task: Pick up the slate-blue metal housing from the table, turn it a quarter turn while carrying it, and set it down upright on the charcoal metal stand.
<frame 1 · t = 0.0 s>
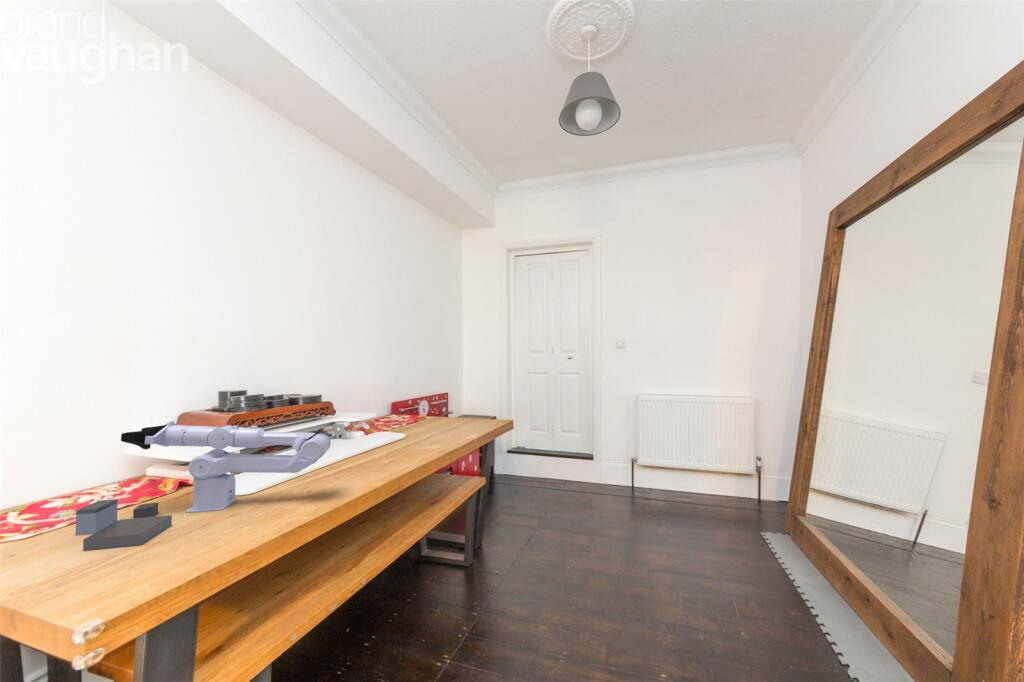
hand: (132, 434, 110), 22 cm above the table, fingers open, 7 cm apart
stand: (130, 537, 94), on the table
housing: (97, 528, 100), on the table
rubber block: (145, 517, 107), on the table
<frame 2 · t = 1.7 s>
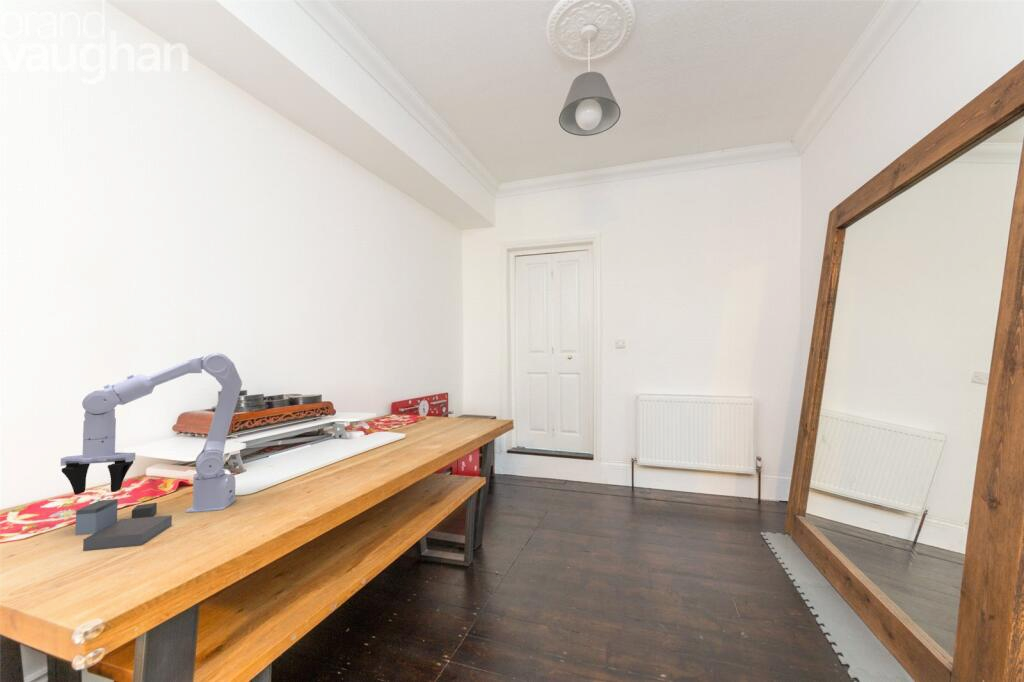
hand: (97, 492, 100), 9 cm above the table, fingers open, 7 cm apart
nothing on the table moved.
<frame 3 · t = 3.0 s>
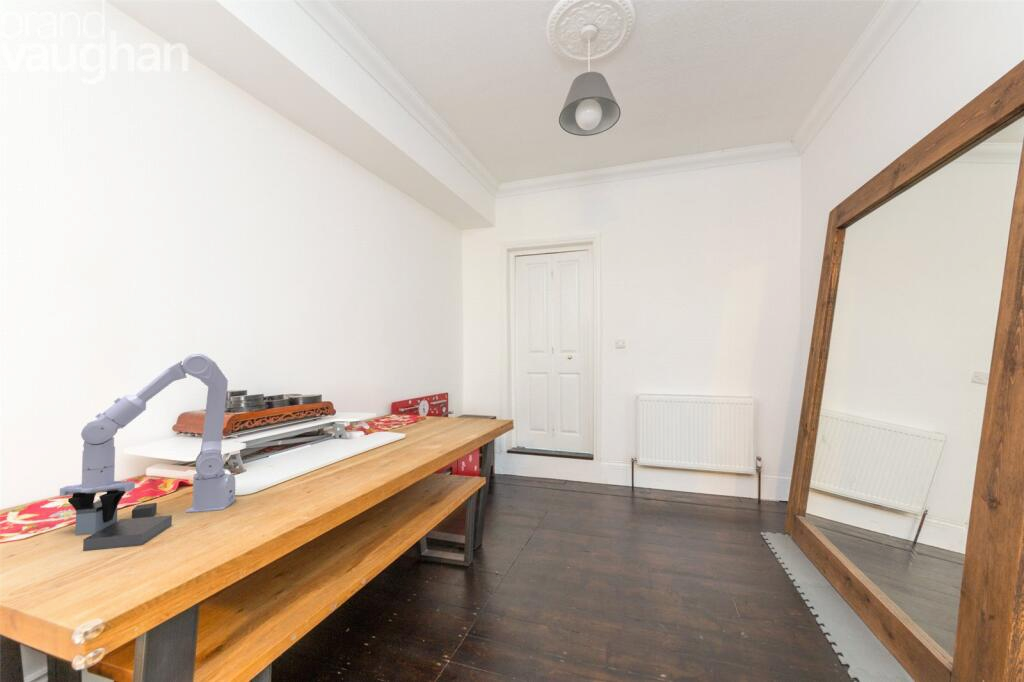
hand: (97, 521, 100), 2 cm above the table, fingers closed on housing, 4 cm apart
housing: (97, 528, 100), on the table, touching gripper
everything else where it was.
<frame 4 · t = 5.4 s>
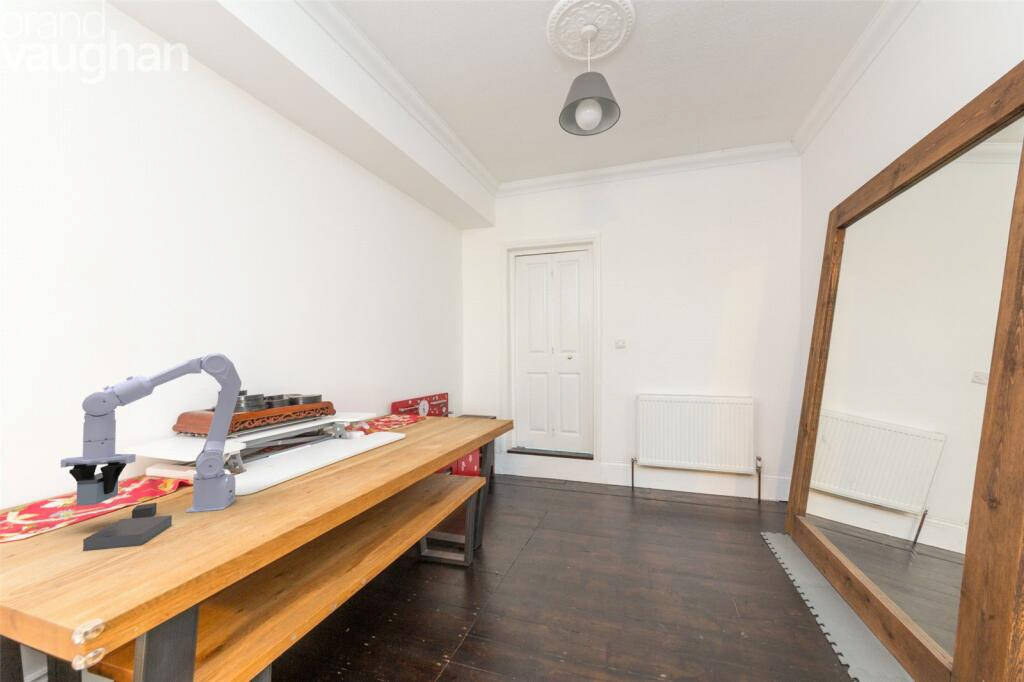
hand: (98, 493, 100), 9 cm above the table, fingers closed on housing, 4 cm apart
housing: (97, 500, 100), point 7 cm above the table, touching gripper
everything else where it was.
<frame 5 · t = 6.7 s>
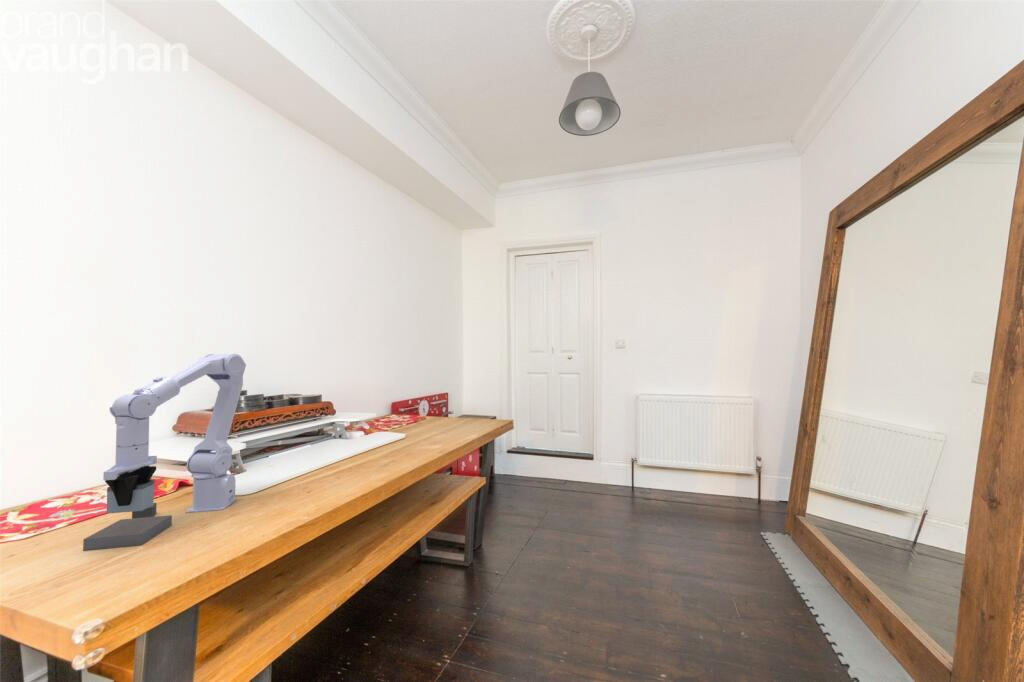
hand: (131, 501, 95), 8 cm above the table, fingers closed on housing, 4 cm apart
housing: (130, 509, 95), point 7 cm above the table, touching gripper
everything else where it was.
when the fingers open (6 cm above the table, at t = 7.9 s): housing drops 1 cm, resting on stand.
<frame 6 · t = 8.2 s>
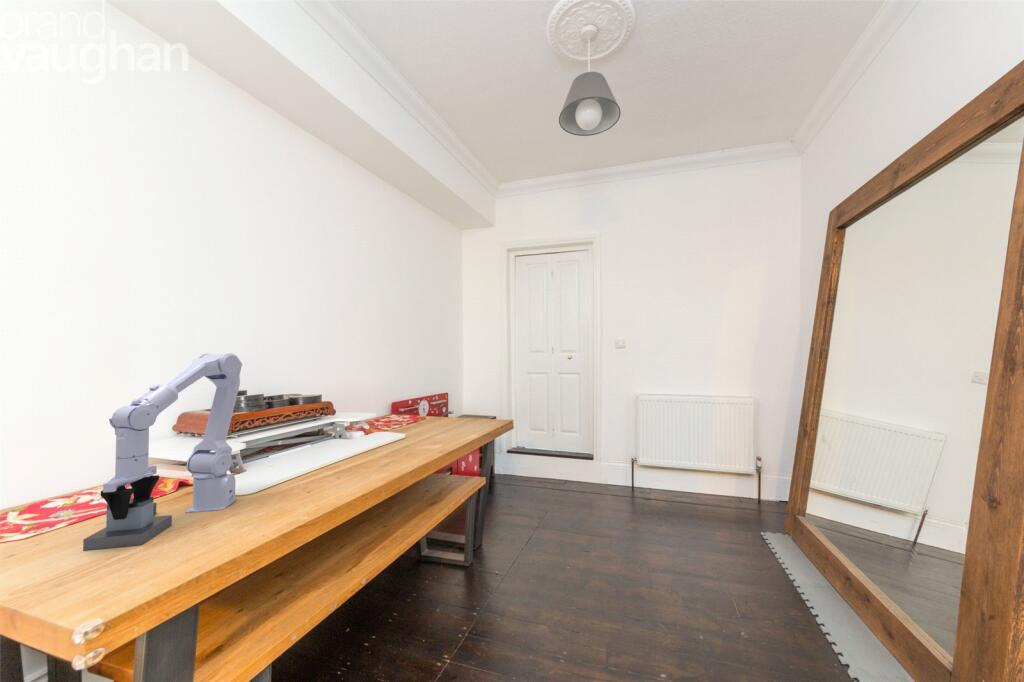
hand: (131, 513, 95), 6 cm above the table, fingers open, 6 cm apart
housing: (130, 526, 94), point 2 cm above the table, touching stand
everything else where it was.
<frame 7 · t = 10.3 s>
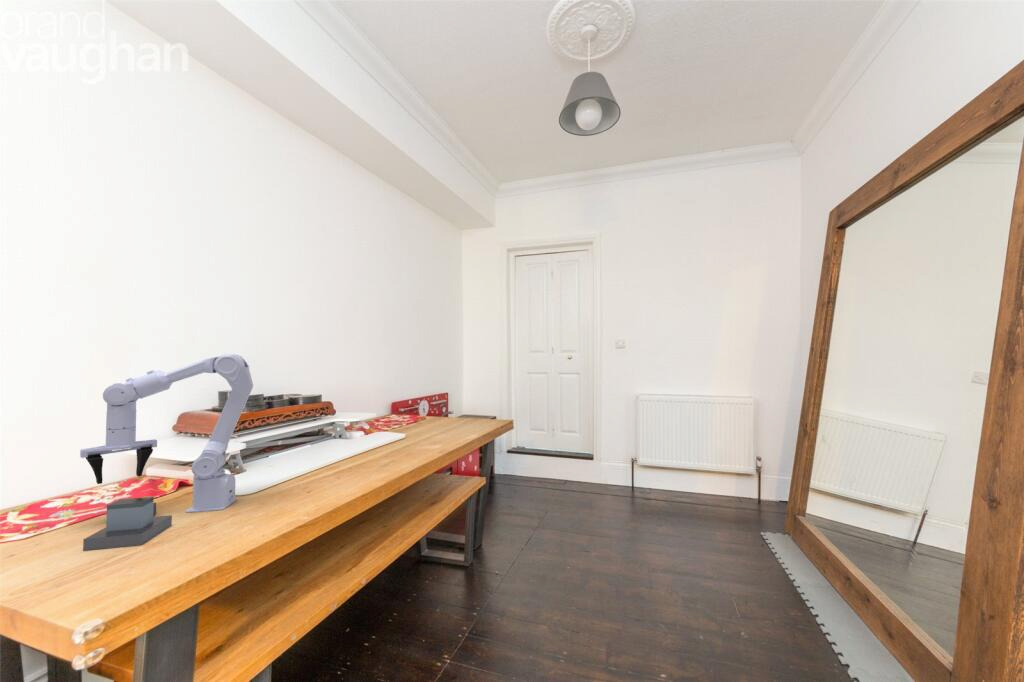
hand: (119, 479, 106), 10 cm above the table, fingers open, 7 cm apart
nothing on the table moved.
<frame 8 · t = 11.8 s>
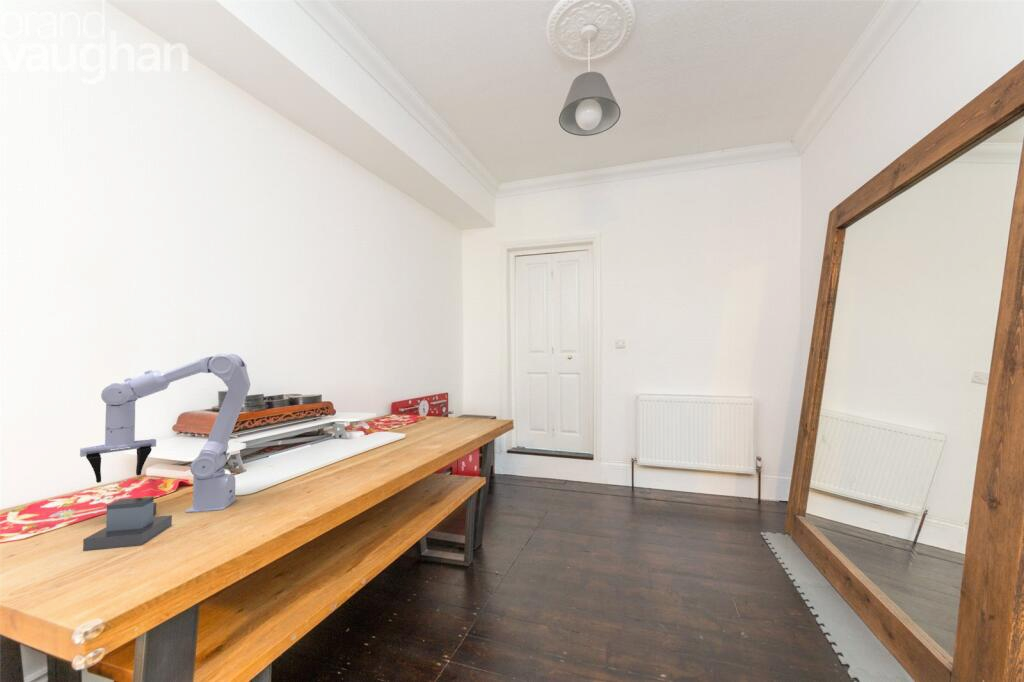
hand: (119, 478, 107), 10 cm above the table, fingers open, 7 cm apart
nothing on the table moved.
at the end: housing inside the target area on the stand (0.1 cm from its centre), point 2.5 cm above the stand's base; housing tilted 0°; the gripper is holding nothing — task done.
